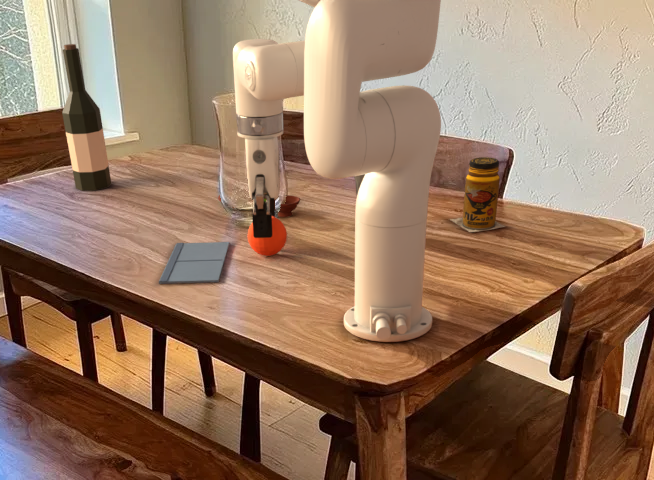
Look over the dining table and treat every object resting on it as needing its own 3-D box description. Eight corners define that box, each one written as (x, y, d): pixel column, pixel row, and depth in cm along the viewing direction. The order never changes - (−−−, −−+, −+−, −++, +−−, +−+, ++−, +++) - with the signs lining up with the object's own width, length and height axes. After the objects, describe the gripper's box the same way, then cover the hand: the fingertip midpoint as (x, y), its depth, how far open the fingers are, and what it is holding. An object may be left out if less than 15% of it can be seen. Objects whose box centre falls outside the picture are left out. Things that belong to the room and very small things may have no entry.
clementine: (283, 264, 136) (281, 223, 132) (244, 263, 137) (241, 223, 133) (290, 248, 142) (289, 209, 139) (253, 247, 144) (250, 209, 140)
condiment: (470, 233, 145) (476, 166, 138) (448, 220, 152) (453, 156, 145) (505, 228, 146) (513, 161, 140) (482, 215, 153) (488, 151, 147)
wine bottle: (74, 183, 188) (48, 44, 172) (109, 179, 190) (87, 41, 173) (77, 192, 181) (51, 48, 165) (113, 188, 183) (91, 45, 167)
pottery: (245, 195, 173) (244, 174, 170) (315, 210, 161) (315, 188, 159) (207, 208, 166) (205, 187, 163) (277, 225, 154) (276, 202, 152)
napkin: (218, 282, 130) (218, 279, 130) (158, 283, 131) (158, 281, 130) (229, 243, 146) (229, 241, 146) (176, 245, 147) (176, 242, 146)
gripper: (280, 136, 121) (284, 244, 130) (285, 112, 135) (287, 211, 144) (232, 138, 121) (239, 245, 130) (241, 113, 135) (247, 212, 145)
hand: (264, 227), depth 137 cm, fingers open, 9 cm apart
